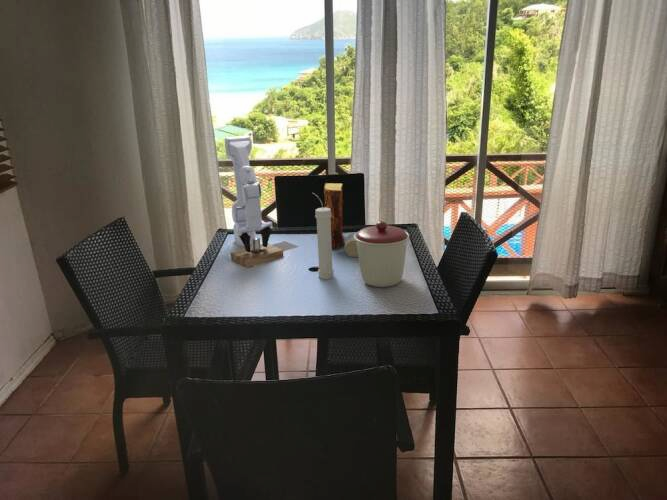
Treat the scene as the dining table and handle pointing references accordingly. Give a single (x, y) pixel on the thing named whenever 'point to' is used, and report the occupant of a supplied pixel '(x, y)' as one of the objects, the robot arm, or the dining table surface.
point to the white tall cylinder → (324, 242)
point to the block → (256, 255)
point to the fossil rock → (335, 212)
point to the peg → (256, 245)
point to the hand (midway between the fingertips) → (256, 249)
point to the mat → (285, 245)
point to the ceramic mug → (351, 246)
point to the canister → (381, 254)
